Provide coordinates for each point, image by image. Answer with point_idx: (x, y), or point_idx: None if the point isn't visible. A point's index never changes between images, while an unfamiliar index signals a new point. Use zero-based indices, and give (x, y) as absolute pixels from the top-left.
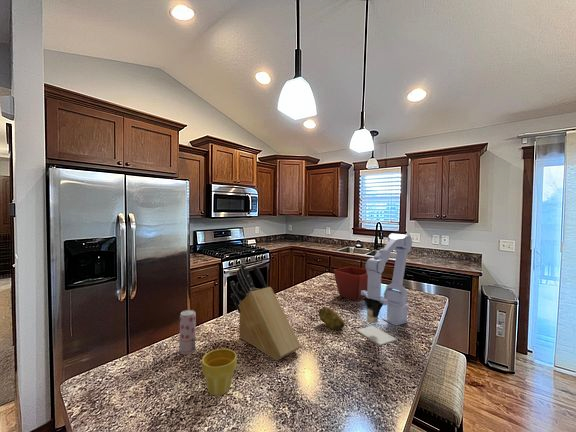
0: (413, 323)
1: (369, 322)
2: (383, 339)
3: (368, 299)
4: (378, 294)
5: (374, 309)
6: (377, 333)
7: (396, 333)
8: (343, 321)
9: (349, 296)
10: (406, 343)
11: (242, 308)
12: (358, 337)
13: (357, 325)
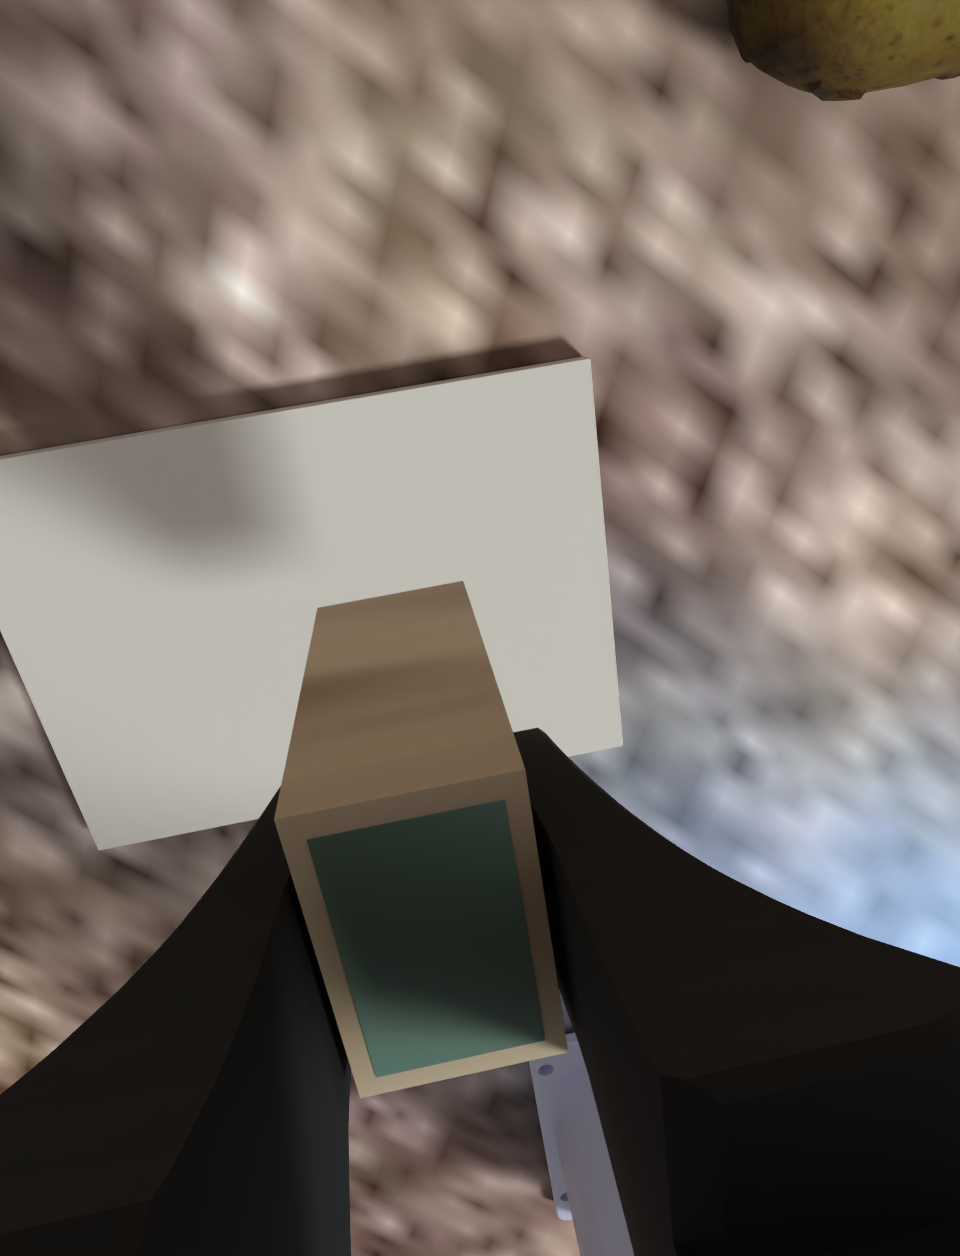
0: (514, 1234)
1: (379, 600)
2: (109, 642)
3: (743, 1243)
4: None
5: (175, 956)
6: None
7: None
8: (845, 25)
9: None
10: (2, 911)
11: None
12: (330, 227)
13: (763, 514)
